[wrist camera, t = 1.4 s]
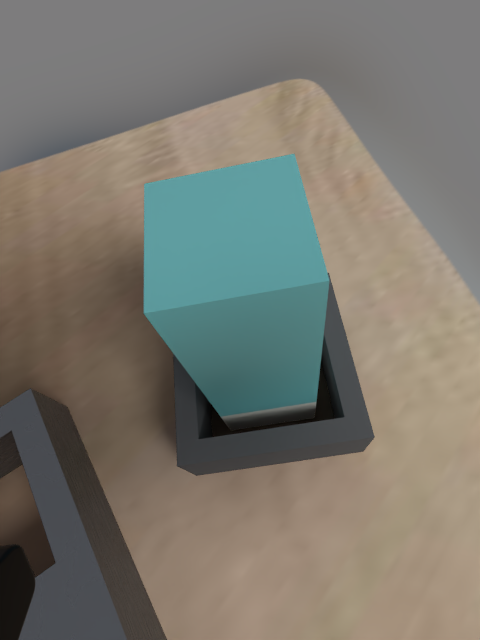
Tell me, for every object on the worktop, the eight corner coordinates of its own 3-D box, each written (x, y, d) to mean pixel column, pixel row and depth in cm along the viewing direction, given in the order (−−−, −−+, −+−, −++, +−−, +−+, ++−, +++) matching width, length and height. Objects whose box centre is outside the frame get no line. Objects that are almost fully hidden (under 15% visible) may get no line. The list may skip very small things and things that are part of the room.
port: (181, 674, 16) (147, 716, 13) (-30, 846, 15) (-137, 948, 11) (67, 406, 23) (23, 384, 19) (-88, 507, 21) (-168, 503, 18)
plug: (314, 417, 20) (329, 281, 9) (231, 430, 21) (143, 313, 9) (298, 341, 23) (294, 153, 11) (223, 354, 23) (144, 183, 12)
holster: (363, 451, 19) (374, 437, 16) (196, 475, 20) (177, 466, 17) (325, 306, 23) (328, 272, 20) (188, 329, 24) (171, 300, 21)
